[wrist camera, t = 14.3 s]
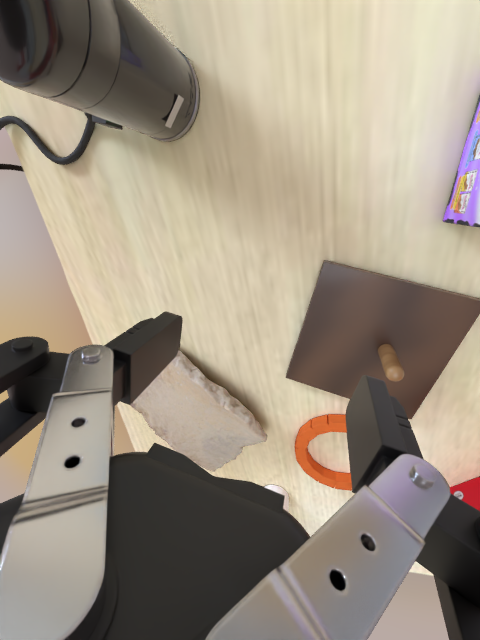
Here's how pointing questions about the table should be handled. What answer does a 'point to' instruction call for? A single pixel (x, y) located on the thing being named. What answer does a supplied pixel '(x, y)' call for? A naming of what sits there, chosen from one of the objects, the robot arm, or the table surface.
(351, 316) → the peg board
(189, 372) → the stone slab
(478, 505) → the food packaging
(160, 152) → the table surface
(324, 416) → the ring
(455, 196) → the candy box
